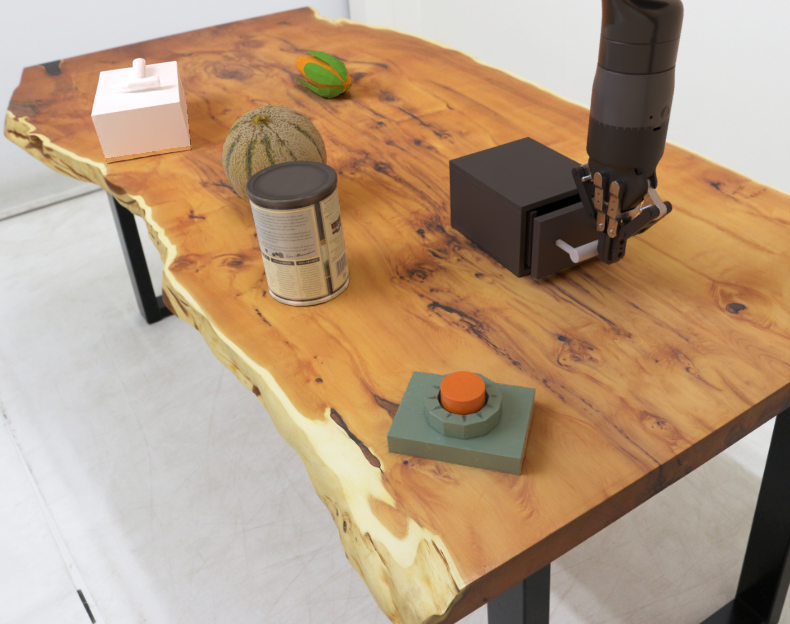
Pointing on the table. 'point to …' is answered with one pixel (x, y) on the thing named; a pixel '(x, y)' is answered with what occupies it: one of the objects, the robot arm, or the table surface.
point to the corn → (324, 74)
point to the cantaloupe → (269, 143)
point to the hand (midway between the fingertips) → (609, 260)
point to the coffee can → (300, 231)
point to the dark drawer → (559, 237)
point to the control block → (464, 426)
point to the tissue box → (141, 109)
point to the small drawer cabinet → (506, 195)
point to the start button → (462, 393)
